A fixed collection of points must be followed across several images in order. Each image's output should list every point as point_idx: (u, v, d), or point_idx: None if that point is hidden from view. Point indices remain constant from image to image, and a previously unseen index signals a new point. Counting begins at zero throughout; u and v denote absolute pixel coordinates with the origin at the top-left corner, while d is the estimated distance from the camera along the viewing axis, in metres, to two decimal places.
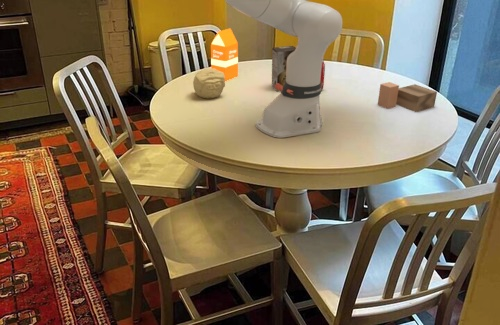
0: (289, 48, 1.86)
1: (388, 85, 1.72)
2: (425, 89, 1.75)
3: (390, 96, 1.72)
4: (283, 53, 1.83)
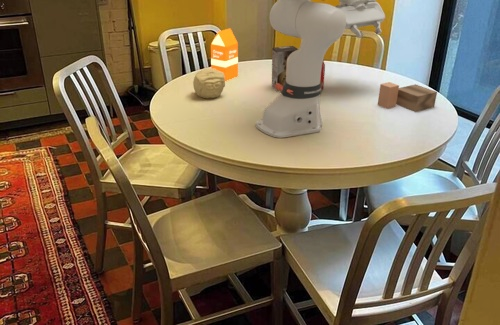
0: (289, 48, 1.86)
1: (388, 85, 1.72)
2: (425, 89, 1.75)
3: (390, 96, 1.72)
4: (283, 53, 1.83)
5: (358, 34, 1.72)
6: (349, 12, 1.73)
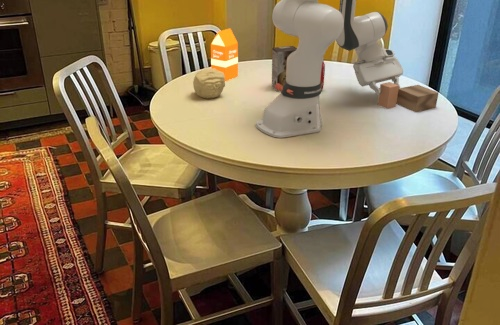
0: (289, 48, 1.86)
1: (388, 85, 1.72)
2: (427, 90, 1.74)
3: (390, 96, 1.72)
4: (283, 53, 1.83)
5: (377, 91, 1.71)
6: (368, 69, 1.72)
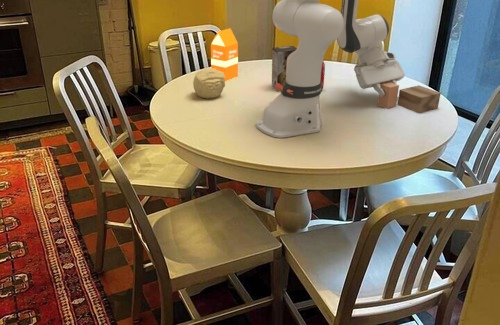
0: (289, 48, 1.86)
1: (388, 85, 1.72)
2: (429, 90, 1.74)
3: (390, 96, 1.72)
4: (283, 53, 1.83)
5: (381, 93, 1.72)
6: (369, 71, 1.71)
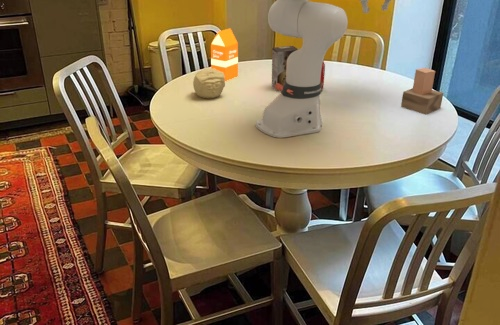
0: (289, 48, 1.86)
1: (424, 70, 1.68)
2: None
3: (425, 82, 1.68)
4: (283, 53, 1.83)
5: (365, 10, 1.71)
6: None
